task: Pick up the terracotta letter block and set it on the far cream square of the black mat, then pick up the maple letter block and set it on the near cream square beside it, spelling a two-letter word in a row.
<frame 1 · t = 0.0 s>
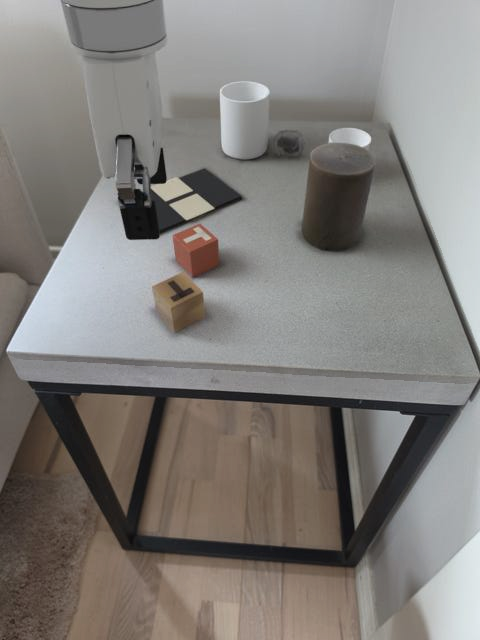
hand: (148, 208, 50), 21 cm above the table, tool pointing down, fingers open, 9 cm apart
mug: (244, 147, 101), on the table
terracotta block: (197, 262, 76), on the table
maple block: (180, 314, 68), on the table
word mat: (181, 200, 87), on the table
pillar candle: (330, 233, 81), on the table
fossil: (288, 155, 98), on the table
cup: (344, 174, 94), on the table
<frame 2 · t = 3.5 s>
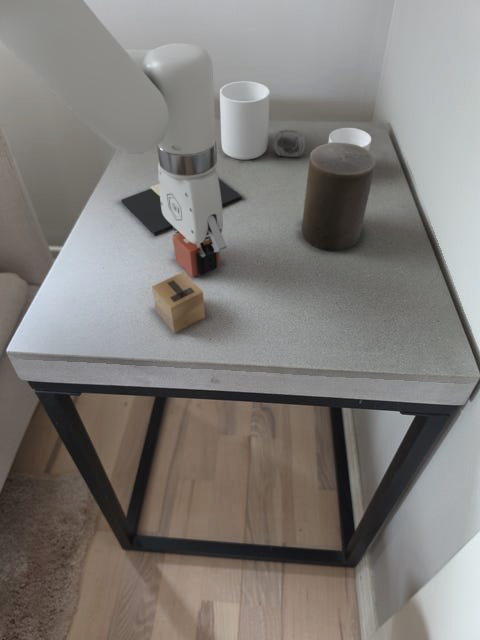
hand: (197, 260, 76), 0 cm above the table, tool pointing down, fingers closed on terracotta block, 5 cm apart
terracotta block: (197, 262, 76), on the table, touching gripper
everything else where it was.
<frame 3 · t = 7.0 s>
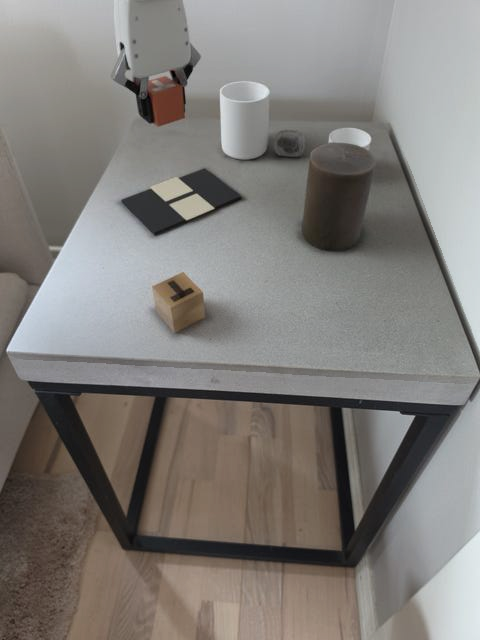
hand: (163, 114, 77), 15 cm above the table, tool pointing down, fingers closed on terracotta block, 5 cm apart
terracotta block: (163, 116, 78), point 15 cm above the table, touching gripper
everything else where it was.
when the fingers open (1 cm above the table, at t = 10.6 s): terracotta block stays where it is, resting on word mat.
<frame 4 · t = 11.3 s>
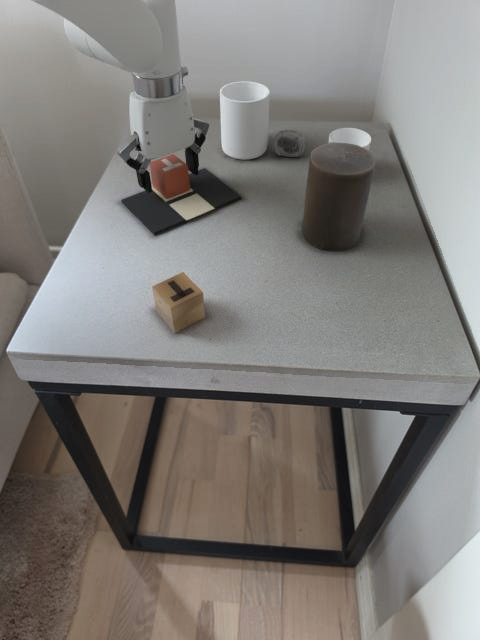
hand: (170, 180, 88), 2 cm above the table, tool pointing down, fingers open, 9 cm apart
terracotta block: (171, 188, 89), point 1 cm above the table, touching word mat
everything else where it was.
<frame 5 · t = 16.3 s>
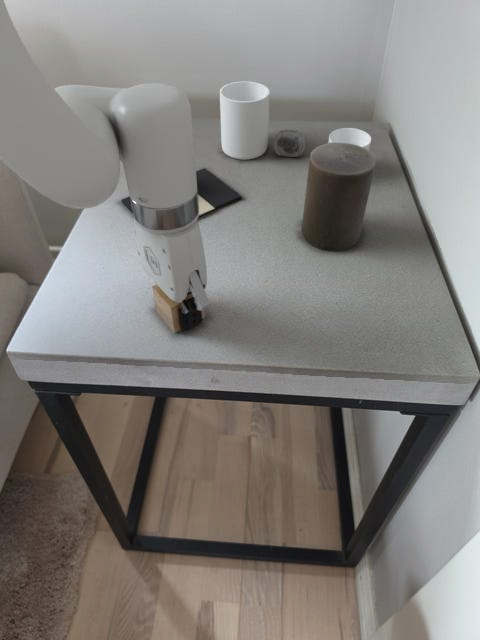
hand: (180, 312, 68), 0 cm above the table, tool pointing down, fingers closed on maple block, 5 cm apart
maple block: (180, 314, 68), on the table, touching gripper
everything else where it was.
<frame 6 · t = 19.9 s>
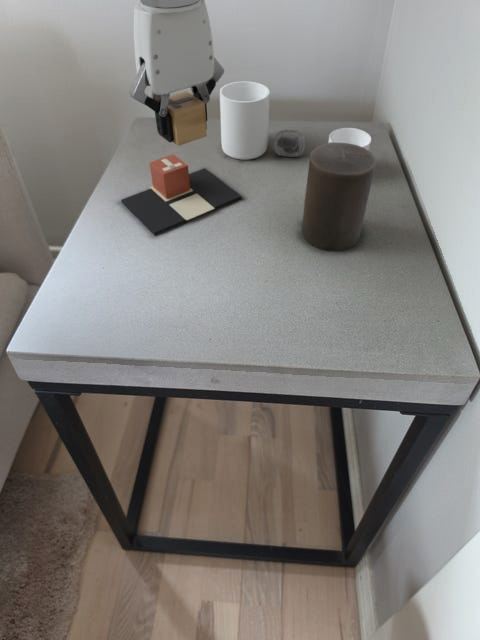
hand: (183, 131, 73), 16 cm above the table, tool pointing down, fingers closed on maple block, 5 cm apart
maple block: (183, 134, 73), point 15 cm above the table, touching gripper
everything else where it was.
when the fingers open (1 cm above the table, at t = 23.7 s): maple block stays where it is, resting on word mat.
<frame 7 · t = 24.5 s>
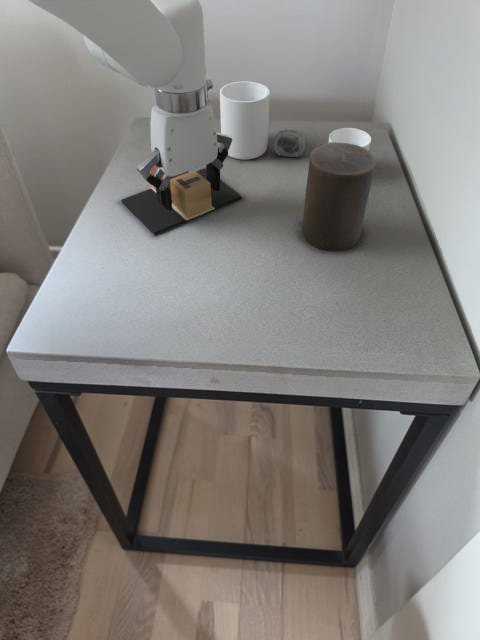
hand: (190, 196, 83), 3 cm above the table, tool pointing down, fingers open, 9 cm apart
maple block: (192, 206, 85), point 1 cm above the table, touching word mat
everything else where it was.
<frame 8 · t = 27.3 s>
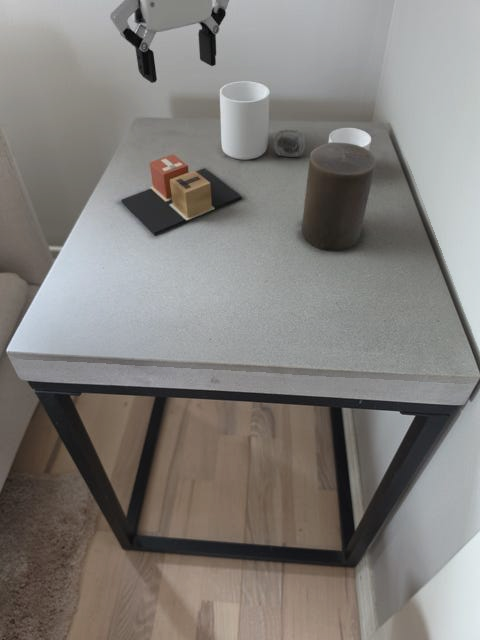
hand: (179, 70, 68), 23 cm above the table, tool pointing down, fingers open, 9 cm apart
nothing on the table moved.
at the end: terracotta block 0.0 cm from the target spot on the word mat, point 0.7 cm above the word mat's base; maple block 0.0 cm from the target spot on the word mat, point 0.7 cm above the word mat's base; maple block tilted 0° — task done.
